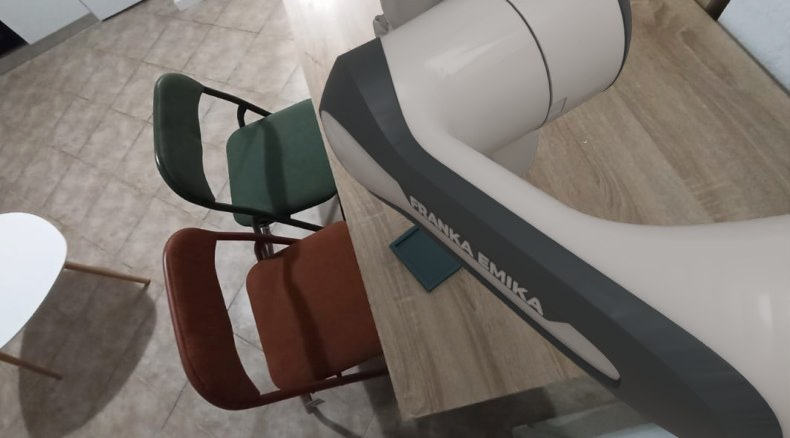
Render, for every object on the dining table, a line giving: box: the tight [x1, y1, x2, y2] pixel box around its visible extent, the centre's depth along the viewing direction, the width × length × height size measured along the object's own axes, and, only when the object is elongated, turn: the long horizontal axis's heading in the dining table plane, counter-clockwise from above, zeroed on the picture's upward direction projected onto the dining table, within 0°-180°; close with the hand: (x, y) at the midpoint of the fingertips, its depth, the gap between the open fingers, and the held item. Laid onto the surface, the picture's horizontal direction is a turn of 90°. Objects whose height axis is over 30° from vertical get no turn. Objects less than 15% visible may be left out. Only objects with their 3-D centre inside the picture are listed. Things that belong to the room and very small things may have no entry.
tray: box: [388, 225, 463, 294], centre depth 83 cm, size 12×12×2 cm
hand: (445, 146), depth 50 cm, fingers closed on milk carton, 7 cm apart
